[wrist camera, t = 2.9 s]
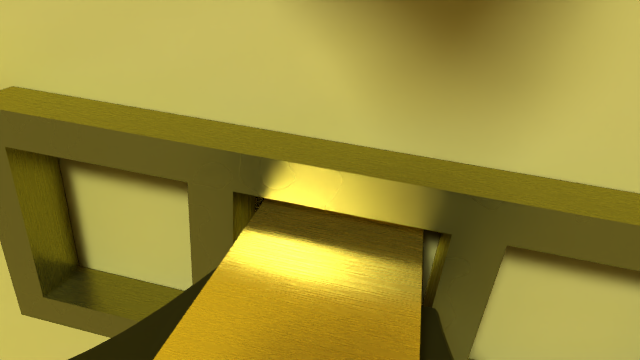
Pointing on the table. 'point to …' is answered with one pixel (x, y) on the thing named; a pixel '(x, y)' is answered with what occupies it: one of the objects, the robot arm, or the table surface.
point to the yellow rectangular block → (308, 291)
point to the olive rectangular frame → (284, 185)
